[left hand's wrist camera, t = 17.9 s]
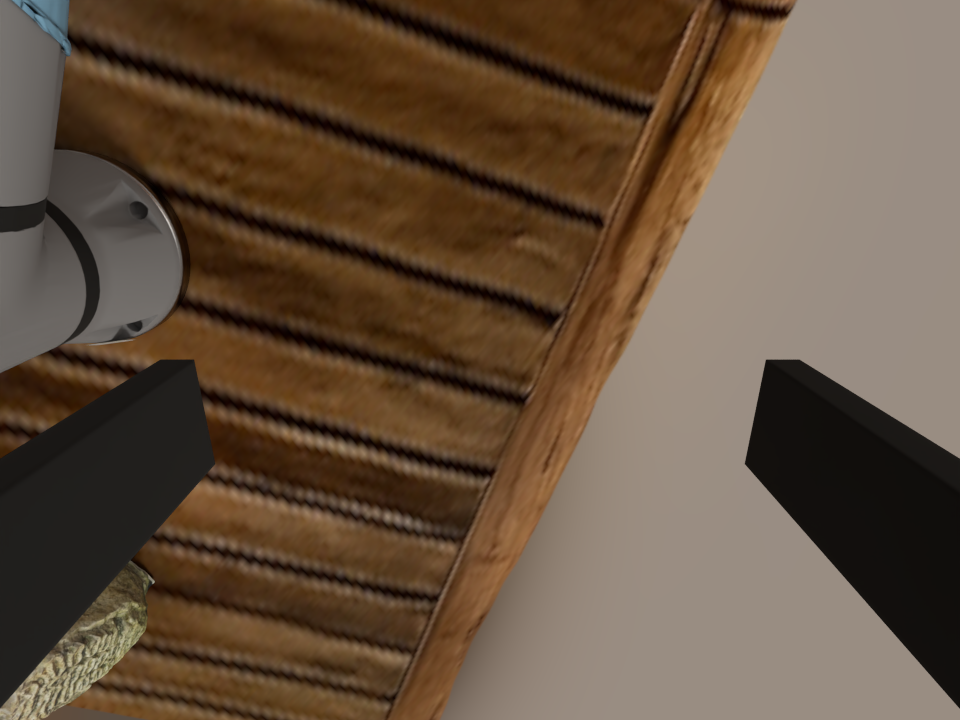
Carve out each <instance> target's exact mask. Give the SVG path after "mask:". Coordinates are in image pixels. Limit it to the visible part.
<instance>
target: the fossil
mask: <svg viewBox="0 0 960 720" xmlns="http://www.w3.org/2000/svg"><path fill="white" fill-rule="evenodd" d="M154 582H155V581H154V580H153V579H152V578H151V577H150V576H149V575H148V574H147V573H146V572H145V571H144V570H142V569H141V568H139V567H138V566H137V565H136V564H134V563H133V562H132V561H131V560H130V561H129V563H128V564H127V565H126V566H125V567H124V568H123V569H122V571H121V572H120V573H119V574H118V575H117V576H116V577H115V578H114V580H113V581H112V582H111V583H110V584H109V585H108V586H107V588H106V589H105V590H104V591H103V592H102V593H101V594H100V596H99V597H98V598H97V599H96V600H95V601H94V602H93V604H92V605H91V606H90V607H89V608H88V609H87V610H86V611H85V613H84V614H83V615H82V616H81V617H80V618H79V619H78V621H77V622H76V623H75V624H74V625H73V626H72V627H71V629H70V630H69V631H68V632H67V633H66V634H65V635H64V637H63V638H62V639H61V640H60V641H59V642H58V643H57V644H56V646H55V647H54V648H53V649H52V650H51V651H50V652H49V654H48V655H47V656H46V657H45V658H44V659H43V660H42V662H41V663H40V664H39V665H38V666H37V667H36V668H35V670H34V671H33V672H32V673H31V674H30V675H29V676H28V678H27V679H26V680H25V681H24V682H23V683H22V684H21V685H20V687H19V688H18V689H17V690H16V691H15V692H14V693H13V695H12V696H11V697H10V698H9V699H8V700H7V701H6V703H5V704H4V705H3V706H2V707H1V708H0V720H42V719H43V718H45V717H47V716H49V715H50V713H51V712H52V711H55V710H57V709H58V708H60V707H62V706H64V705H66V704H68V703H70V702H72V701H73V700H75V699H76V698H77V697H79V696H80V695H81V694H83V693H84V692H85V691H87V690H88V689H89V688H90V687H91V684H92V683H93V682H95V681H97V680H98V679H100V678H101V677H103V676H104V675H105V674H106V673H108V671H109V670H110V669H111V668H112V667H113V665H114V664H116V663H117V662H119V661H120V659H121V658H122V657H123V656H124V655H125V653H126V652H127V651H128V650H129V649H130V648H131V647H132V646H133V645H134V644H135V643H136V642H137V641H138V639H139V638H140V636H141V635H142V634H143V633H144V631H145V629H146V624H147V618H148V616H147V606H148V604H147V601H146V598H145V595H146V593H147V591H148V589H149V587H150V586H151V585H152V584H153V583H154Z"/></svg>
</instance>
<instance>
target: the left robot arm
mask: <svg viewBox="0 0 960 720" xmlns="http://www.w3.org/2000/svg"><path fill="white" fill-rule="evenodd" d="M68 14H69V0H0V373H1V372H3V371H5V370H7V369H10V368H12V367H14V366H16V365H18V364H20V363H23V362H25V361H27V360H29V359H31V358H33V357H36V356H38V355H40V354H42V353H44V352H46V351H49V350H51V349H53V348H55V347H57V346H60V345H62V344H69V343H98V344H91V345H103V344H110V343H117V342H124V341H131V340H127V339H131V338H134V337H137V336H139V335H142V334H144V333H146V332H148V331H150V330H152V329H154V328H155V327H157V326H159V325H161V324H162V323H163V322H165V321H166V320H167V319H168V318H169V317H170V316H172V314H173V313H174V312H175V311H176V310H177V308H178V307H179V305H180V304H181V302H182V300H183V298H184V296H185V293H186V290H187V287H188V283H189V277H190V254H189V249H188V244H187V240H186V237H185V234H184V231H183V229H182V226H181V224H180V222H179V220H178V218H177V216H176V214H175V213H174V211H173V209H172V208H171V206H170V205H169V204H168V202H167V201H166V199H165V198H164V197H163V196H162V195H161V193H160V192H159V191H158V190H157V189H156V188H155V187H154V186H153V185H152V184H151V183H150V182H149V181H147V180H146V179H145V178H144V177H143V176H141V175H140V174H139V173H137V172H136V171H134V170H133V169H131V168H130V167H128V166H127V165H125V164H123V163H121V162H119V161H117V160H114V159H112V158H110V157H107V156H104V155H101V154H98V153H93V152H89V151H81V150H54V146H55V138H56V130H57V122H58V114H59V107H60V99H61V91H62V83H63V75H64V68H65V60H66V56H70V53H71V44H70V42H69V41H68V39H67V30H68ZM214 465H215V461H214V456H213V451H212V446H211V441H210V436H209V431H208V426H207V421H206V416H205V411H204V407H203V402H202V397H201V392H200V387H199V382H198V377H197V372H196V367H195V362H194V360H159V361H158V362H156V363H154V364H153V365H151V366H150V367H148V368H146V369H145V370H143V371H141V372H140V373H138V374H137V375H135V376H133V377H132V378H130V379H129V380H127V381H125V382H124V383H122V384H120V385H119V386H117V387H116V388H114V389H112V390H111V391H109V392H107V393H106V394H104V395H103V396H101V397H99V398H98V399H96V400H95V401H93V402H91V403H90V404H88V405H86V406H85V407H83V408H82V409H80V410H78V411H77V412H75V413H73V414H72V415H70V416H69V417H67V418H65V419H64V420H62V421H61V422H59V423H57V424H56V425H54V426H52V427H51V428H49V429H48V430H46V431H44V432H43V433H41V434H39V435H38V436H36V437H35V438H33V439H31V440H30V441H28V442H27V443H25V444H23V445H22V446H20V447H18V448H17V449H15V450H14V451H12V452H10V453H9V454H7V455H5V456H4V457H2V458H1V459H0V708H1V707H2V706H3V705H4V704H5V703H6V701H7V700H8V699H9V698H10V697H11V696H12V695H13V693H14V692H15V691H16V690H17V689H18V688H19V687H20V685H21V684H22V683H23V682H24V681H25V680H26V679H27V678H28V676H29V675H30V674H31V673H32V672H33V671H34V670H35V668H36V667H37V666H38V665H39V664H40V663H41V662H42V660H43V659H44V658H45V657H46V656H47V655H48V654H49V652H50V651H51V650H52V649H53V648H54V647H55V646H56V644H57V643H58V642H59V641H60V640H61V639H62V638H63V637H64V635H65V634H66V633H67V632H68V631H69V630H70V629H71V627H72V626H73V625H74V624H75V623H76V622H77V621H78V619H79V618H80V617H81V616H82V615H83V614H84V613H85V611H86V610H87V609H88V608H89V607H90V606H91V605H92V604H93V602H94V601H95V600H96V599H97V598H98V597H99V596H100V594H101V593H102V592H103V591H104V590H105V589H106V588H107V586H108V585H109V584H110V583H111V582H112V581H113V580H114V578H115V577H116V576H117V575H118V574H119V573H120V572H121V571H122V569H123V568H124V567H125V566H126V565H127V564H128V563H129V561H130V560H131V559H132V558H133V557H134V556H135V555H136V553H137V552H138V551H139V550H140V549H141V548H142V547H143V545H144V544H145V543H146V542H147V541H148V540H149V539H150V538H151V536H152V535H153V534H154V533H155V532H156V531H157V530H158V528H159V527H160V526H161V525H162V524H163V523H164V522H165V520H166V519H167V518H168V517H169V516H170V515H171V514H172V512H173V511H174V510H175V509H176V508H177V507H178V506H179V504H180V503H181V502H182V501H183V500H184V499H185V498H186V497H187V495H188V494H189V493H190V492H191V491H192V490H193V489H194V487H195V486H196V485H197V484H198V483H199V482H200V481H201V479H202V478H203V477H204V476H205V475H206V474H207V473H208V471H209V470H210V469H211V468H212V467H213V466H214ZM745 465H746V466H747V467H748V468H749V469H750V470H751V471H752V473H753V474H754V475H755V476H756V477H757V478H758V479H759V481H760V482H761V483H762V484H763V485H764V486H765V487H766V488H767V490H768V491H769V492H770V493H771V494H772V495H773V497H774V498H775V499H776V500H777V501H778V502H779V503H780V504H781V506H782V507H783V508H784V509H785V510H786V511H787V512H788V514H789V515H790V516H791V517H792V518H793V519H794V520H795V522H796V523H797V524H798V525H799V526H800V527H801V528H802V530H803V531H804V532H805V533H806V534H807V535H808V536H809V537H810V539H811V540H812V541H813V542H814V543H815V544H816V545H817V547H818V548H819V549H820V550H821V551H822V552H823V553H824V555H825V556H826V557H827V558H828V559H829V560H830V561H831V562H832V564H833V565H834V566H835V567H836V568H837V569H838V571H839V572H840V573H841V574H842V575H843V576H844V577H845V578H846V580H847V581H848V582H849V583H850V584H851V585H852V586H853V588H854V589H855V590H856V591H857V592H858V593H859V594H860V596H861V597H862V598H863V599H864V600H865V601H866V602H867V603H868V605H869V606H870V607H871V608H872V609H873V610H874V611H875V613H876V614H877V615H878V616H879V617H880V618H881V619H882V621H883V622H884V623H885V624H886V625H887V626H888V627H889V629H890V630H891V631H892V632H893V633H894V634H895V635H896V637H897V638H898V639H899V640H900V641H901V642H902V643H903V645H904V646H905V647H906V648H907V649H908V650H909V651H910V652H911V654H912V655H913V656H914V657H915V658H916V659H917V660H918V662H919V663H920V664H921V665H922V666H923V667H924V668H925V670H926V671H927V672H928V673H929V674H930V675H931V676H932V677H933V679H934V680H935V681H936V682H937V683H938V684H939V685H940V687H941V688H942V689H943V690H944V691H945V692H946V693H947V695H948V696H949V697H950V698H951V699H952V700H953V701H954V703H955V704H956V705H957V706H958V707H959V708H960V459H959V458H958V457H956V456H955V455H953V454H951V453H950V452H948V451H946V450H945V449H943V448H942V447H940V446H938V445H937V444H935V443H933V442H932V441H930V440H929V439H927V438H925V437H924V436H922V435H921V434H919V433H917V432H916V431H914V430H912V429H911V428H909V427H908V426H906V425H904V424H903V423H901V422H899V421H898V420H896V419H895V418H893V417H891V416H890V415H888V414H887V413H885V412H883V411H882V410H880V409H878V408H877V407H875V406H874V405H872V404H870V403H869V402H867V401H865V400H864V399H862V398H861V397H859V396H857V395H856V394H854V393H852V392H851V391H849V390H848V389H846V388H844V387H843V386H841V385H840V384H838V383H836V382H835V381H833V380H831V379H830V378H828V377H827V376H825V375H823V374H822V373H820V372H818V371H817V370H815V369H814V368H812V367H810V366H809V365H807V364H806V363H804V362H802V361H801V360H766V362H765V367H764V372H763V377H762V382H761V387H760V392H759V397H758V402H757V407H756V412H755V416H754V421H753V427H752V431H751V436H750V441H749V446H748V451H747V456H746V461H745Z"/></svg>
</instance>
